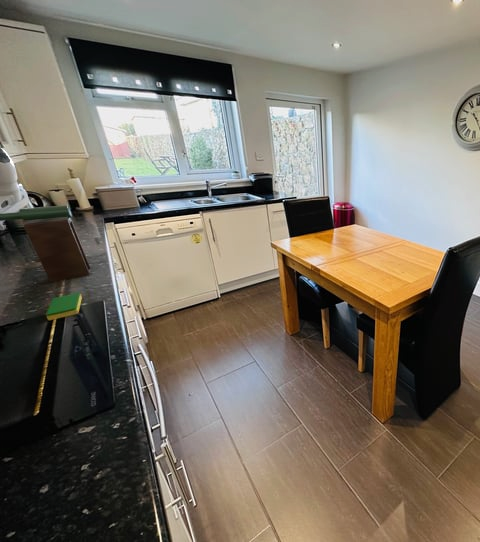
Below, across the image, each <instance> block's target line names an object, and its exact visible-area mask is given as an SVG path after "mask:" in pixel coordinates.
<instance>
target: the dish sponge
mask: <svg viewBox="0 0 480 542" xmlns="http://www.w3.org/2000/svg"><path fill="white" fill-rule="evenodd" d="M82 299H83V297H82V294H81V292H77V293H76V292H75V293H72V294H71V293H70V294H67V295H62V296H57V297H53V298H52V299H51V301H50V303H49V306H48V308H47V311H46V313H45V316H46V319H47V321H52V320H57V319H61V318H65V317H71V316H74V315H78V314H79V313H80V312H79V311H80V309H81V304H82Z"/></svg>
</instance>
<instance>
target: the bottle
mask: <svg viewBox="0 0 480 542" xmlns="http://www.w3.org/2000/svg"><path fill="white" fill-rule="evenodd" d="M19 211H20V212H15V213H2V214H0V221H4V222H5V221H15V220H17V221H18V220H23V221H25V220H36V219H47V218H58V217H68V218H71V219H72V218H73V215H72V211H71V209H70V207H69V205H68V204H67V205H54V206H52V205H51V206H40V207H23V209H19Z"/></svg>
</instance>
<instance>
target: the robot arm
mask: <svg viewBox="0 0 480 542" xmlns="http://www.w3.org/2000/svg"><path fill="white" fill-rule="evenodd" d="M29 203H30V198H29V196H28V192H27V190H26V189H24V186H23V184H21V183H18V173H17V169H16V166H15V163H14V161H13V160H12V159H11V157H10V155H9V153H7V151H6V150H5V149H3V148H2V147H0V214H2V213H15V212H20V211H19V209H24V208H25V207H26V206H27V205H28V204H29ZM4 222H5V221H0V231H5V230H6V229H7V225H6V224H4Z"/></svg>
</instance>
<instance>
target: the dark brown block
mask: <svg viewBox="0 0 480 542" xmlns="http://www.w3.org/2000/svg"><path fill="white" fill-rule="evenodd" d="M23 228H24V230H25V232H26V234H27V236H28V237H29V240H30V243H31V245H32V247H33V249H34V251H35V253H36V256H37V257H38V259H39V262H40V264H41V266H42V268H43V270H44V272H45V274H46V275H47V279H48V281H49V283H53V282H59V281H63V280H70V279H74V278H81V277H85V276H90V274H91V273H90V271H89V270H90V269H92V268H91V264H90V263H89V260H88V257H87V255H86V252H85V250H84V247H83V245H82V243H81V240H80V237H79V234H78V232H77V230H76V227H75V225H74V222H73V220H72V218H68V217H58V218H47V219H36V220H25V221H24V220H23Z"/></svg>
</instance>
